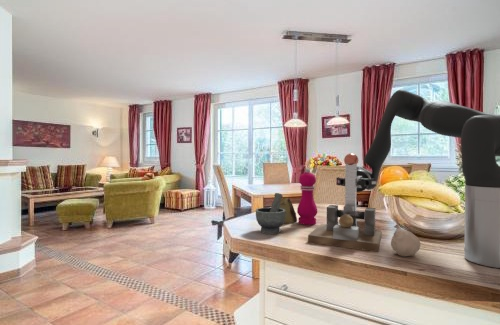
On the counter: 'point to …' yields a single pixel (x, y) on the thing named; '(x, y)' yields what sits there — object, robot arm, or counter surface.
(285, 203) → the rock
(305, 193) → the pepper mill
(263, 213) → the mortar and pestle
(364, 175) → the robot arm
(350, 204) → the lever
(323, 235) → the cracker base
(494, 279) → the counter surface
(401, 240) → the garlic bulb
